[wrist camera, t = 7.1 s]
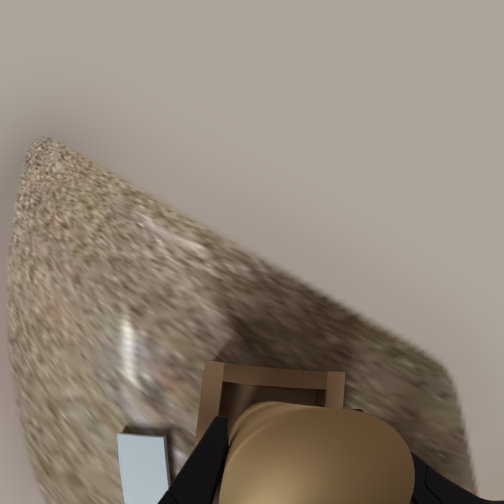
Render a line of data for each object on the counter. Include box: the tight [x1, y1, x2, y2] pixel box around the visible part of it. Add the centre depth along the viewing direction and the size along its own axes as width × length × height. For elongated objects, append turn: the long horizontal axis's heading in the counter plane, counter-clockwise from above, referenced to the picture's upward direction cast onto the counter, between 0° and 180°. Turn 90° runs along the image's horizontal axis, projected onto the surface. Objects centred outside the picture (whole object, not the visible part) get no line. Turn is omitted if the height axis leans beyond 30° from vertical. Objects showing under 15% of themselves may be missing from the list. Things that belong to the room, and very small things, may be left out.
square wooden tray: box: [195, 360, 345, 447], centre depth 15 cm, size 8×8×3 cm
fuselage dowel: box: [219, 401, 415, 504], centre depth 9 cm, size 4×4×11 cm
